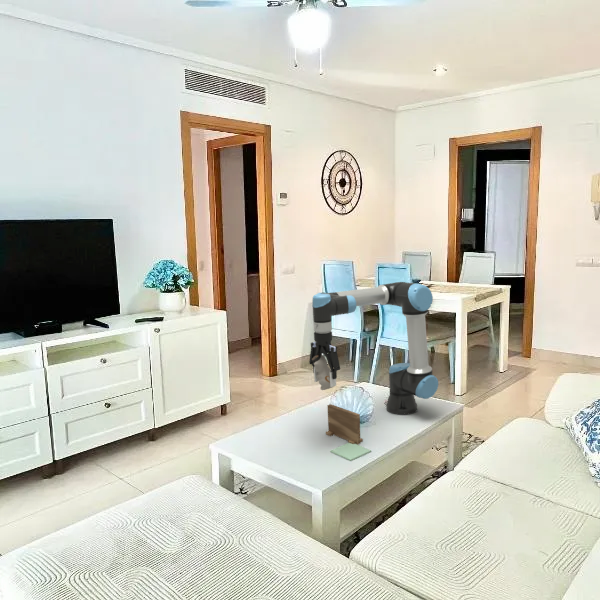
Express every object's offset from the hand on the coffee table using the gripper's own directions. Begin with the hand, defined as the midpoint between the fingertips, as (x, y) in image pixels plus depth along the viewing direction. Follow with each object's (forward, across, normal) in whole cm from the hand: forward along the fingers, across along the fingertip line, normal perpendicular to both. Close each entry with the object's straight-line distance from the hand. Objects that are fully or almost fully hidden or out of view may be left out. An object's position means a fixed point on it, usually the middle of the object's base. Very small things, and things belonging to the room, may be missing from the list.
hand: (325, 383), depth 227 cm
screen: (+27, 0, +10) cm, 29 cm away
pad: (+27, +12, +2) cm, 30 cm away
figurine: (+3, 0, 0) cm, 3 cm away
